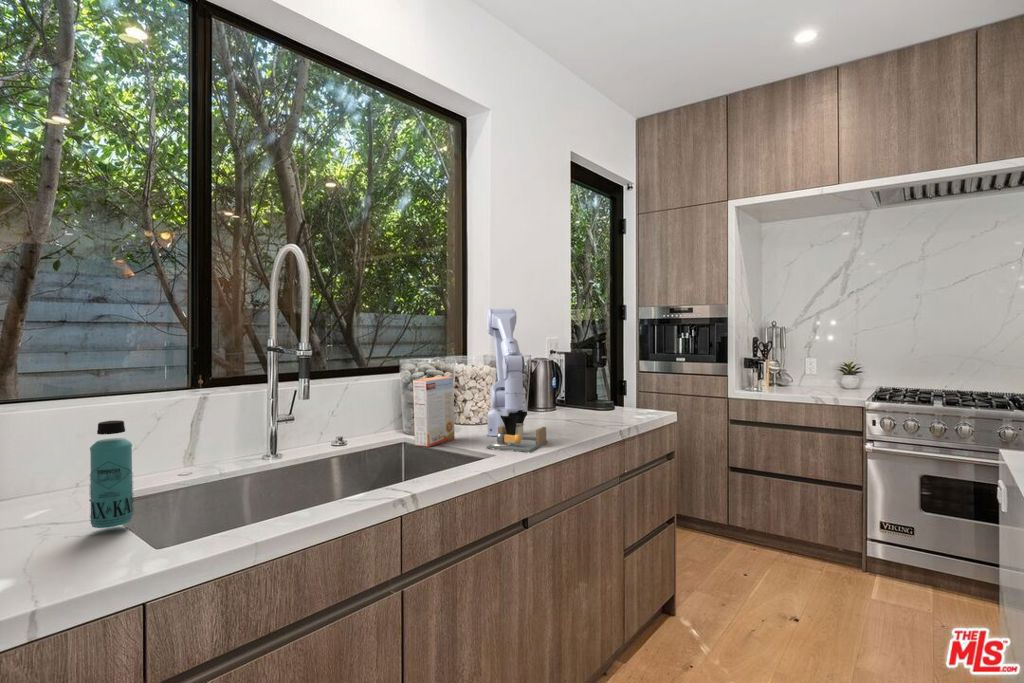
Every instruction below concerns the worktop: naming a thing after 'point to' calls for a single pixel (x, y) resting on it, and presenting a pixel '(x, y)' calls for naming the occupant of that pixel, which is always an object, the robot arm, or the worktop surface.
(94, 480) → the beverage bottle
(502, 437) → the gauge dial
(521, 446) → the rail board
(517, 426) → the beige block
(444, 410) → the cracker box
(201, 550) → the worktop surface
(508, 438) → the gauge lever
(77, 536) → the worktop surface
